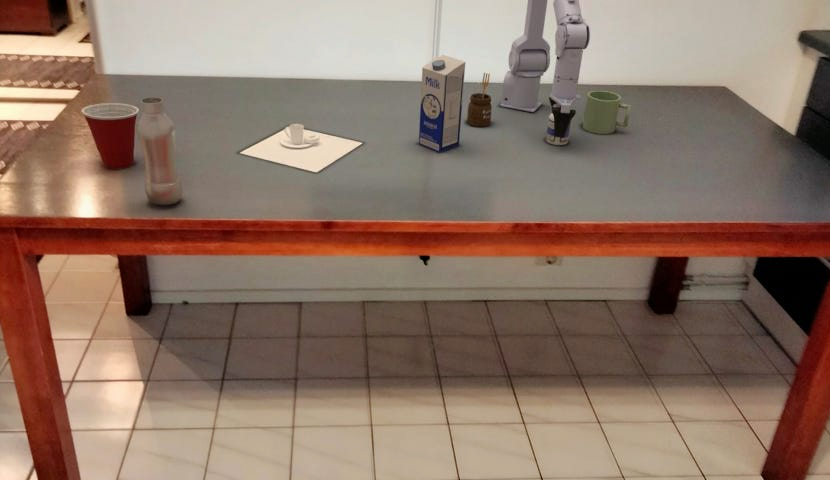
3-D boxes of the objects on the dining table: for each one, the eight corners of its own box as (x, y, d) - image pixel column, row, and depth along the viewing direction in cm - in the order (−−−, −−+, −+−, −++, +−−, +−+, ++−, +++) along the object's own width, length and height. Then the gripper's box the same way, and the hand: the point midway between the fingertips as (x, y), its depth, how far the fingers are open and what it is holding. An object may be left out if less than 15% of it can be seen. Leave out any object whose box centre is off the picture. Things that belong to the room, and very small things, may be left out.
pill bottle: (567, 138, 187) (572, 103, 182) (568, 146, 182) (573, 110, 177) (545, 136, 187) (550, 101, 182) (546, 144, 182) (551, 108, 178)
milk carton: (459, 145, 179) (466, 60, 168) (440, 152, 174) (445, 66, 164) (437, 137, 183) (442, 53, 172) (418, 143, 178) (422, 58, 168)
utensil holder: (463, 124, 191) (467, 77, 185) (471, 117, 196) (475, 71, 190) (485, 128, 189) (490, 81, 183) (493, 121, 194) (498, 74, 188)
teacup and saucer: (324, 141, 176) (324, 124, 174) (305, 152, 170) (305, 135, 167) (292, 134, 179) (291, 117, 177) (272, 144, 173) (271, 127, 170)
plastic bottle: (151, 194, 148) (136, 94, 137) (187, 194, 149) (174, 95, 138) (143, 209, 142) (127, 105, 132) (180, 209, 143) (167, 106, 133)
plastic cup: (157, 159, 162) (149, 104, 156) (124, 177, 154) (114, 120, 147) (115, 150, 165) (105, 96, 159) (80, 168, 156) (68, 111, 150)
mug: (579, 130, 192) (584, 97, 188) (586, 120, 199) (591, 88, 194) (622, 138, 189) (629, 105, 184) (628, 128, 195) (635, 96, 191)
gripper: (587, 87, 170) (577, 144, 177) (580, 68, 182) (571, 122, 189) (555, 84, 170) (547, 142, 177) (550, 66, 182) (543, 120, 189)
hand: (558, 132), depth 183 cm, fingers open, 6 cm apart
